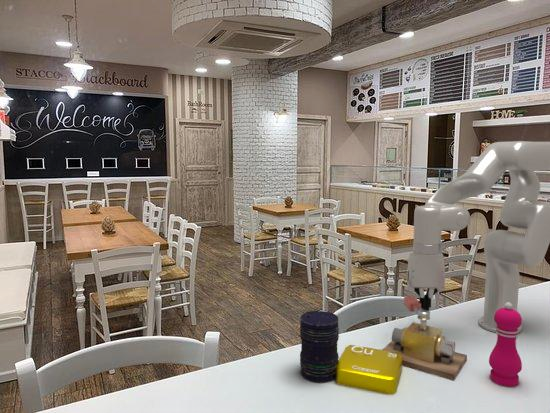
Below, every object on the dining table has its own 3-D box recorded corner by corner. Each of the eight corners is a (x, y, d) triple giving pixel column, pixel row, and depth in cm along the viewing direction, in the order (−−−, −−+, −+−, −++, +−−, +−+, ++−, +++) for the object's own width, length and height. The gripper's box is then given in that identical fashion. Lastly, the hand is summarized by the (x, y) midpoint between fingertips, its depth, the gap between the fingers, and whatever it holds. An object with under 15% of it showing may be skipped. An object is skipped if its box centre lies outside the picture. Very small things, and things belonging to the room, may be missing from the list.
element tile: (333, 384, 107) (333, 366, 106) (347, 358, 120) (347, 341, 120) (395, 397, 101) (396, 378, 100) (402, 368, 114) (403, 351, 114)
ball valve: (398, 342, 126) (399, 309, 124) (456, 357, 116) (458, 321, 115) (389, 351, 120) (390, 316, 119) (449, 367, 111) (450, 330, 109)
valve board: (395, 341, 129) (395, 337, 129) (466, 360, 117) (467, 355, 117) (378, 358, 119) (378, 353, 119) (454, 380, 107) (454, 374, 107)
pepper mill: (525, 389, 103) (530, 308, 100) (492, 386, 104) (497, 306, 102) (515, 374, 110) (519, 298, 108) (484, 371, 111) (488, 296, 109)
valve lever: (431, 322, 115) (431, 313, 115) (419, 322, 115) (420, 313, 115) (414, 304, 129) (414, 296, 129) (403, 304, 129) (403, 296, 129)
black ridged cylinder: (341, 367, 114) (342, 313, 112) (334, 386, 105) (334, 327, 103) (305, 361, 118) (305, 309, 116) (295, 379, 108) (295, 322, 107)
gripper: (449, 246, 127) (447, 305, 130) (397, 245, 129) (396, 304, 131) (457, 251, 120) (455, 315, 122) (403, 251, 121) (401, 314, 123)
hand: (424, 309), depth 126 cm, fingers closed
